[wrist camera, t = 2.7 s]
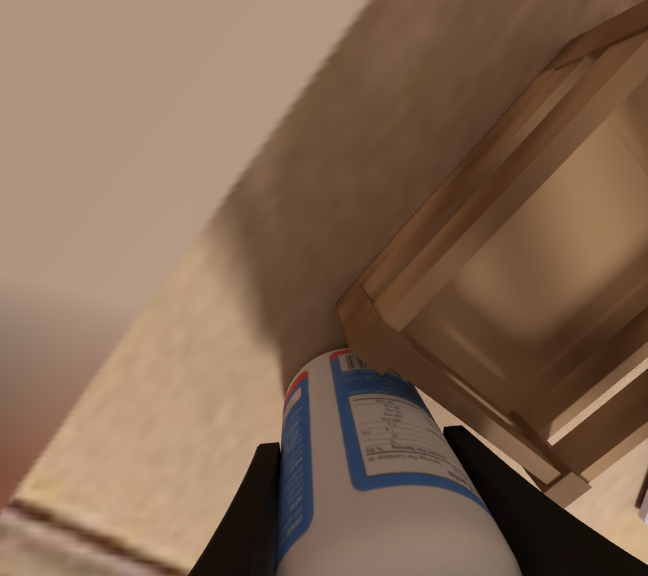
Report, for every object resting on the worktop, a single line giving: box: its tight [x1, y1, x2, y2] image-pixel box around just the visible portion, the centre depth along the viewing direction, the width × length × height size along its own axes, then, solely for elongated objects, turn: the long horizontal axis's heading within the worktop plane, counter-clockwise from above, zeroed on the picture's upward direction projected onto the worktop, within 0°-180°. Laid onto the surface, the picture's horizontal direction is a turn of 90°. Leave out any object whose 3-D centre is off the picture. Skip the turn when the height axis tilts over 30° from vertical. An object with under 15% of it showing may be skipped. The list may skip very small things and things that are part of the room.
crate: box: [336, 0, 648, 509], centre depth 10 cm, size 11×10×4 cm
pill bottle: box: [273, 348, 522, 576], centre depth 9 cm, size 6×5×10 cm
